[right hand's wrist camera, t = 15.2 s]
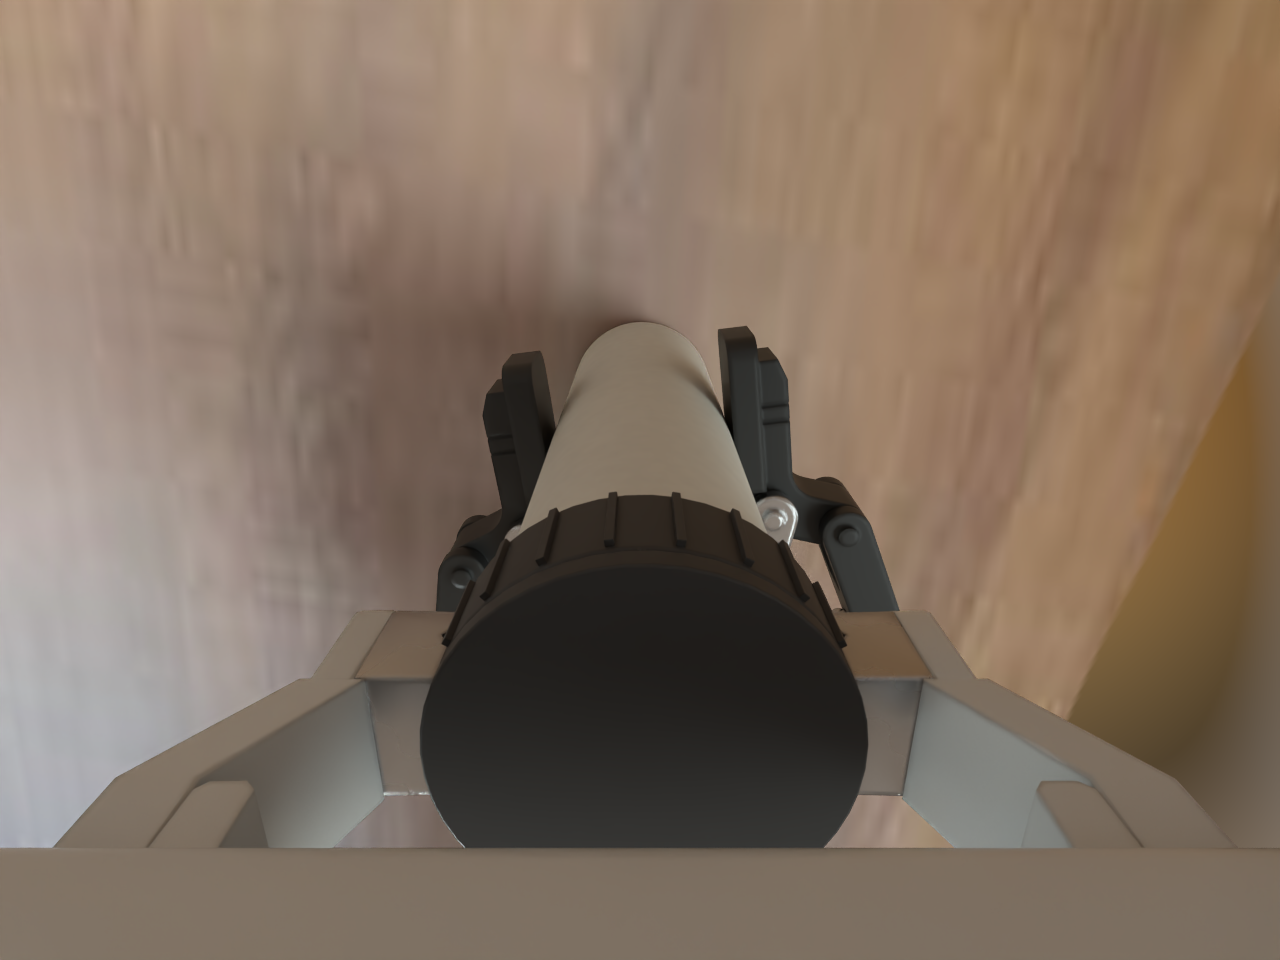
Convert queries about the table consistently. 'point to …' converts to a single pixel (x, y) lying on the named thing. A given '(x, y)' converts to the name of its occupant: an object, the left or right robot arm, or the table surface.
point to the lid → (643, 689)
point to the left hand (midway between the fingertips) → (627, 349)
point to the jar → (642, 429)
